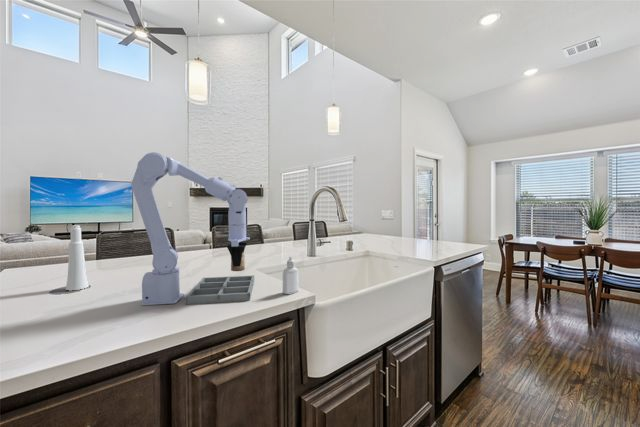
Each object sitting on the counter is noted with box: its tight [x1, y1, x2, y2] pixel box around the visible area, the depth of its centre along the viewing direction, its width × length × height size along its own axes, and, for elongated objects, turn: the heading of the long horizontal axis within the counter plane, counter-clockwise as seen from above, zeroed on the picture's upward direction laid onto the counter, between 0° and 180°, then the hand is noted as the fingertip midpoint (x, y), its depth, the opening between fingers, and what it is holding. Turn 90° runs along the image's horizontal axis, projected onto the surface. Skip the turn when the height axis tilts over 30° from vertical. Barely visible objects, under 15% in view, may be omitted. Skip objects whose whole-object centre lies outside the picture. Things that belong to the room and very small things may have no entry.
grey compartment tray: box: [185, 275, 255, 305], centre depth 92 cm, size 18×21×2 cm
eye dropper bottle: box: [282, 256, 299, 295], centre depth 91 cm, size 4×6×12 cm
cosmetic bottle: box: [65, 224, 89, 292], centre depth 95 cm, size 6×6×22 cm
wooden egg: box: [230, 253, 246, 272], centre depth 92 cm, size 4×4×7 cm
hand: (237, 264), depth 92 cm, fingers closed on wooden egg, 4 cm apart
